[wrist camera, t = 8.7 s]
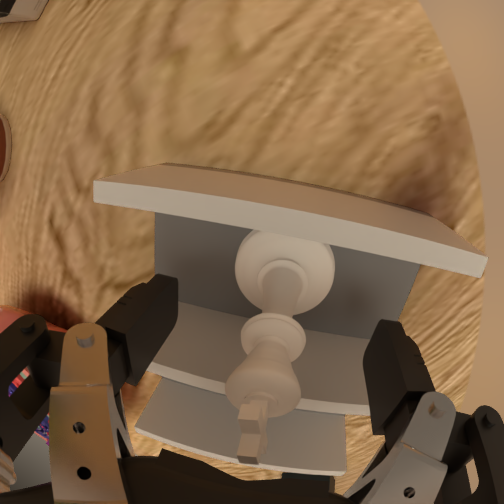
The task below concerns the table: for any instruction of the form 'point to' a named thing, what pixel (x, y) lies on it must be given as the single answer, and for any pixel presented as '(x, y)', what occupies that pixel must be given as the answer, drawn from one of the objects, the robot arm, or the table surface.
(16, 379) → the cell model
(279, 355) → the chess piece
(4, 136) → the coffee cup
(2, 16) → the tea box
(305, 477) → the watch
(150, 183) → the slot rack
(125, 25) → the table surface
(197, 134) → the table surface
